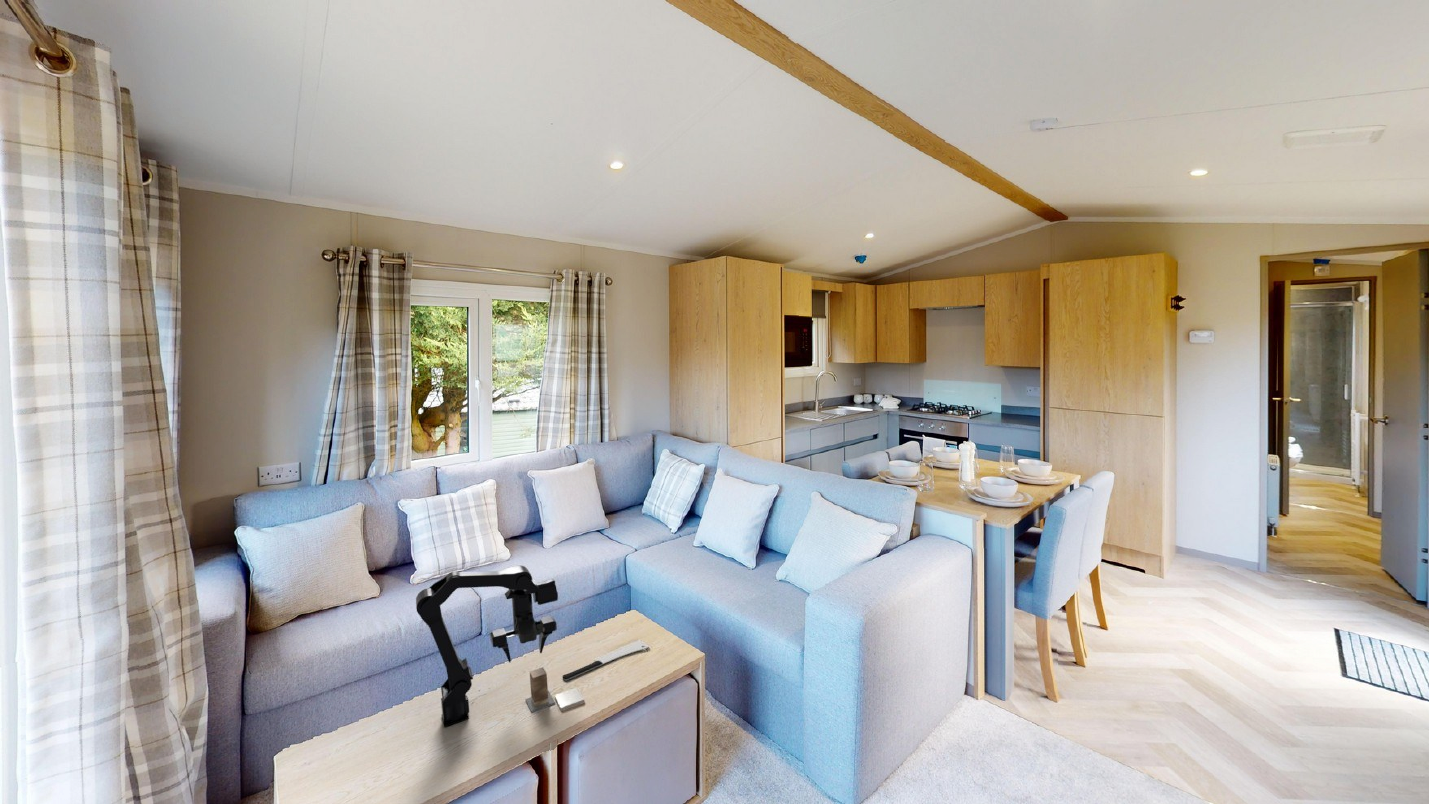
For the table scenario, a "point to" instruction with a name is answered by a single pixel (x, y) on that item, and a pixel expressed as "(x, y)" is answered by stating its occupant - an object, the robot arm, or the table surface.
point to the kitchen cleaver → (607, 658)
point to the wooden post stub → (539, 686)
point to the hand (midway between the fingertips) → (525, 657)
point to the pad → (533, 708)
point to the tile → (569, 699)
